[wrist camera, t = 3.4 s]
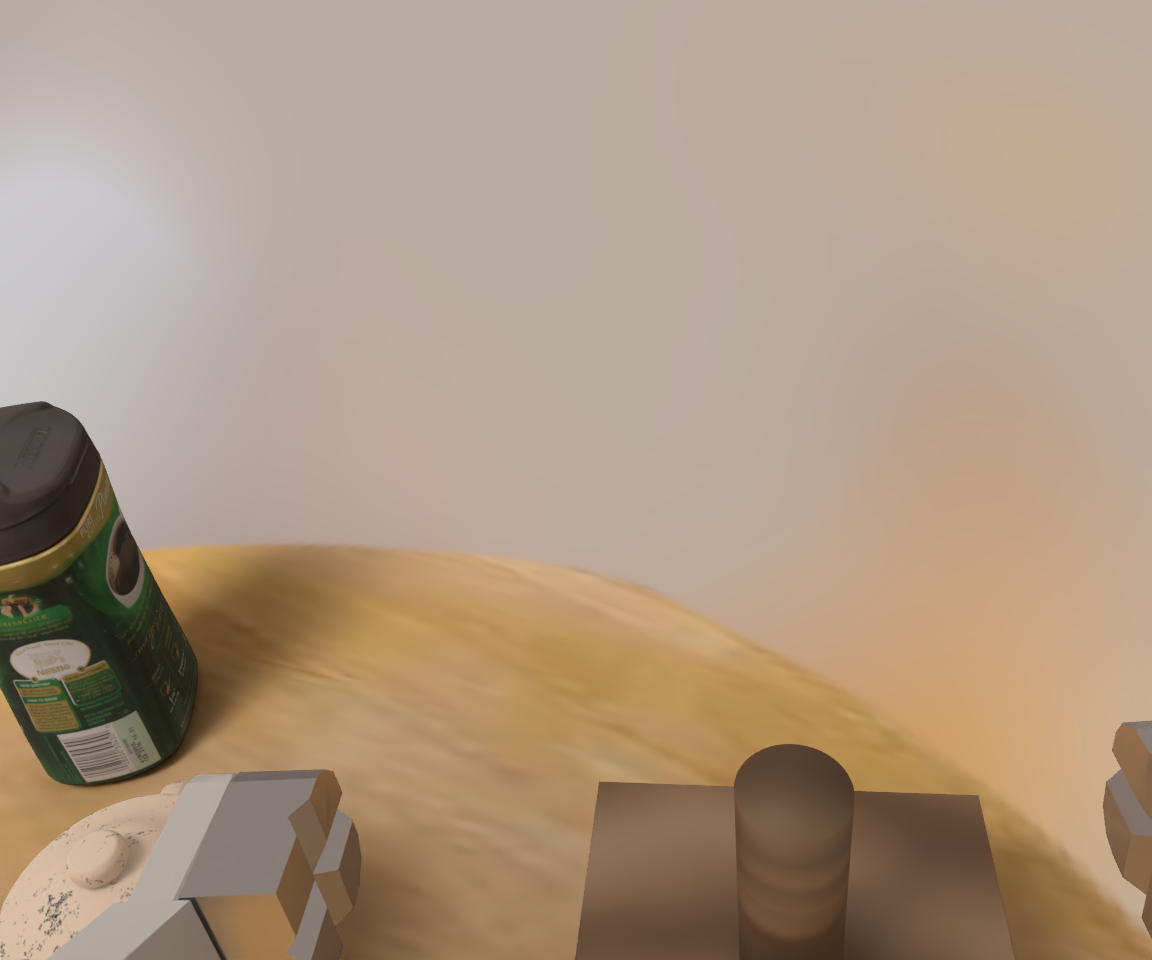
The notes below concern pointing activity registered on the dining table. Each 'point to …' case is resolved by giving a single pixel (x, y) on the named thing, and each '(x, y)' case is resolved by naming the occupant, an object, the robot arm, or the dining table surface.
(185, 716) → the coffee jar
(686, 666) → the dining table surface
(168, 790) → the teacup with lid
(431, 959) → the dining table surface
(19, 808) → the dining table surface
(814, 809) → the walnut cover
